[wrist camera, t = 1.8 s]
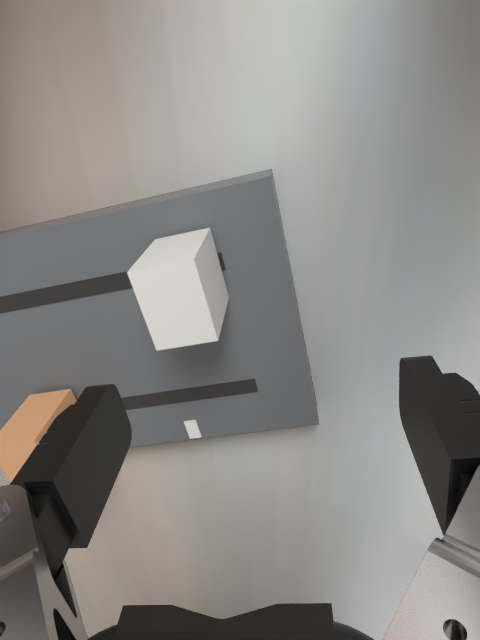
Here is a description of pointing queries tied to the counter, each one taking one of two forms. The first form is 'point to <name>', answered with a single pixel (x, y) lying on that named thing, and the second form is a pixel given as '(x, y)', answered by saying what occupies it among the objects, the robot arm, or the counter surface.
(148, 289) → the block
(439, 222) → the counter surface
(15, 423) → the fader
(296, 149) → the counter surface
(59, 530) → the robot arm
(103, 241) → the console
